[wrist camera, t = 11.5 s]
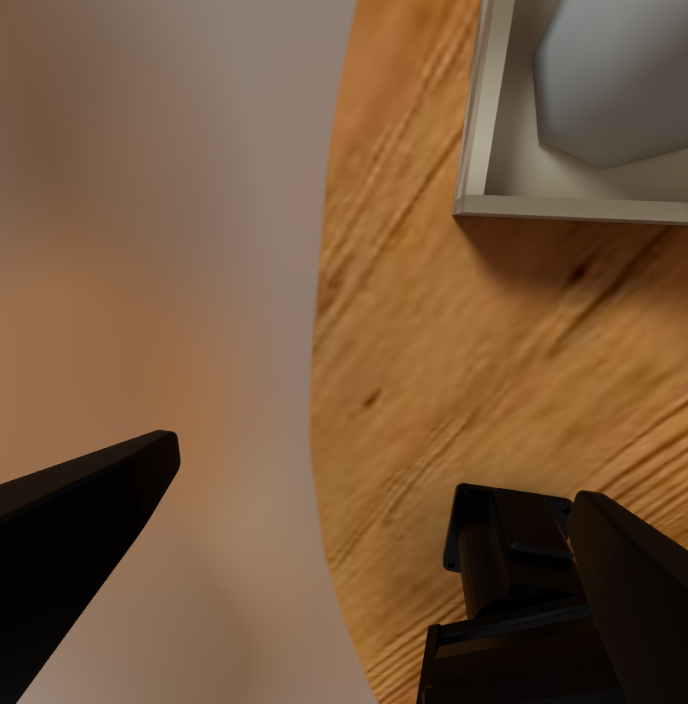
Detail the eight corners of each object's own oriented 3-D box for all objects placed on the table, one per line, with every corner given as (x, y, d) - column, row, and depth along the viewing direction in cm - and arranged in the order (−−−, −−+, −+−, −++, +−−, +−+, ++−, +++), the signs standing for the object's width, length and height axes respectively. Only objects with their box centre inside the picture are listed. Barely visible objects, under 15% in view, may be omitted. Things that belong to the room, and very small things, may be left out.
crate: (723, 227, 15) (822, 227, 12) (451, 215, 17) (463, 212, 13) (862, -143, 12) (1075, -316, 8) (496, -113, 13) (530, -246, 10)
